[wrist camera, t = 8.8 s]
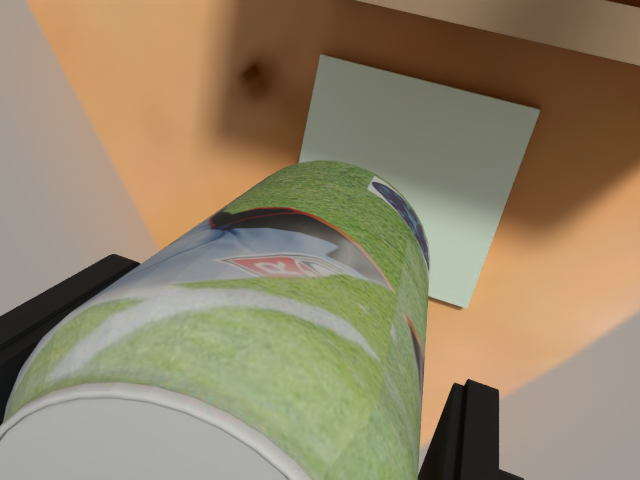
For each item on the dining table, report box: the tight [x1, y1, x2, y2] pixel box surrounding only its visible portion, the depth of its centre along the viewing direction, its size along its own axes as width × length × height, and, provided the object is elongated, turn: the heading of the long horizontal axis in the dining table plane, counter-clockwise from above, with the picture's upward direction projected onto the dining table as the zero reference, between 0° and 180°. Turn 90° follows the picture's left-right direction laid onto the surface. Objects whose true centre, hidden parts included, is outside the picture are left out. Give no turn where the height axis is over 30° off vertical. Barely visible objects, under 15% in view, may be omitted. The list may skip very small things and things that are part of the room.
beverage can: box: [0, 160, 430, 480], centre depth 12 cm, size 6×7×12 cm
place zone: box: [299, 54, 540, 308], centre depth 24 cm, size 9×9×1 cm
